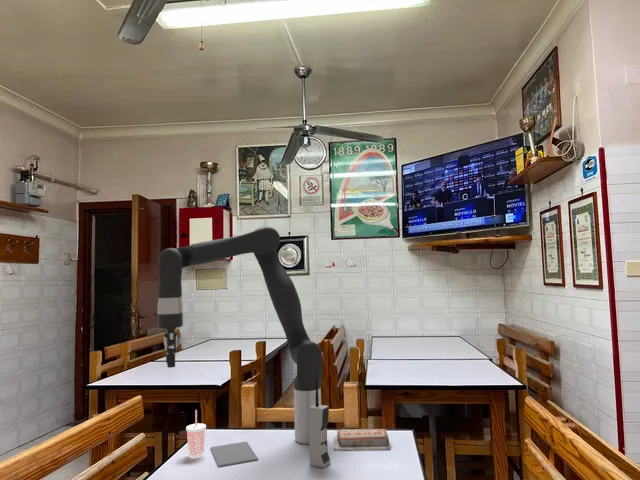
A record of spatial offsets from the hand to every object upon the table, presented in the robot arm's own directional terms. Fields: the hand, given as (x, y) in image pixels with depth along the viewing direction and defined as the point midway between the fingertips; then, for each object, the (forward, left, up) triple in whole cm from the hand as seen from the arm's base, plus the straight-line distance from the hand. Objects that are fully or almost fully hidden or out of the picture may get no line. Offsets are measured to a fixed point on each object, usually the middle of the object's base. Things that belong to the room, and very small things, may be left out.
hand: (170, 364), depth 140 cm
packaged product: (-59, +12, -30) cm, 67 cm away
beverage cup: (-8, -2, -29) cm, 31 cm away
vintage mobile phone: (-41, +21, -29) cm, 55 cm away
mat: (-19, +2, -29) cm, 35 cm away
